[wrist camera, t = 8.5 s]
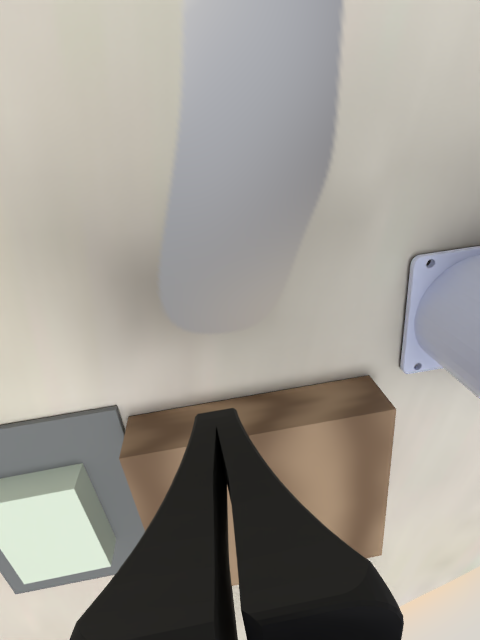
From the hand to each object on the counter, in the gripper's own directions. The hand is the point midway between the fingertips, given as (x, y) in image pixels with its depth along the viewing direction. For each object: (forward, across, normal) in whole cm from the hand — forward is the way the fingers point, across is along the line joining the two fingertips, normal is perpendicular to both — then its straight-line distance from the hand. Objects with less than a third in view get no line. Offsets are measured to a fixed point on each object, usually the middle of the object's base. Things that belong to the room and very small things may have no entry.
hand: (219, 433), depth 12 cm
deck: (+9, -2, +13) cm, 16 cm away
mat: (+9, +12, +13) cm, 20 cm away
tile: (+7, +13, +13) cm, 19 cm away
